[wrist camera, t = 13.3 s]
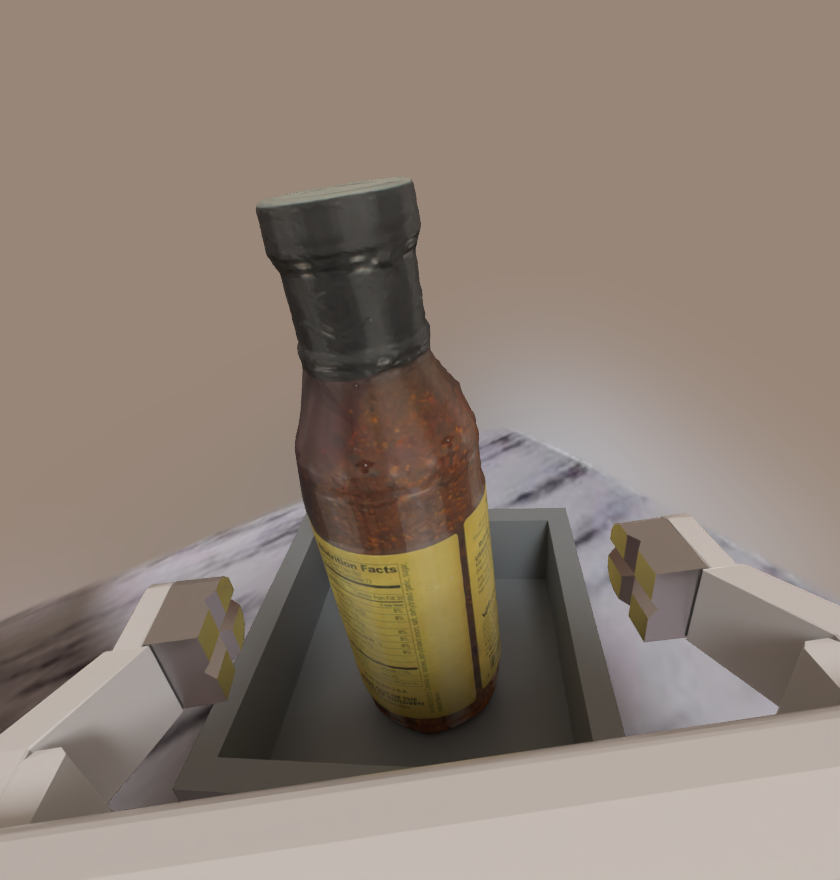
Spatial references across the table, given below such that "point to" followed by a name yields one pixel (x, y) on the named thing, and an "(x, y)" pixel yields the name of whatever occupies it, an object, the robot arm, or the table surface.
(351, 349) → the sauce bottle
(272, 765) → the tray
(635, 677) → the table surface
